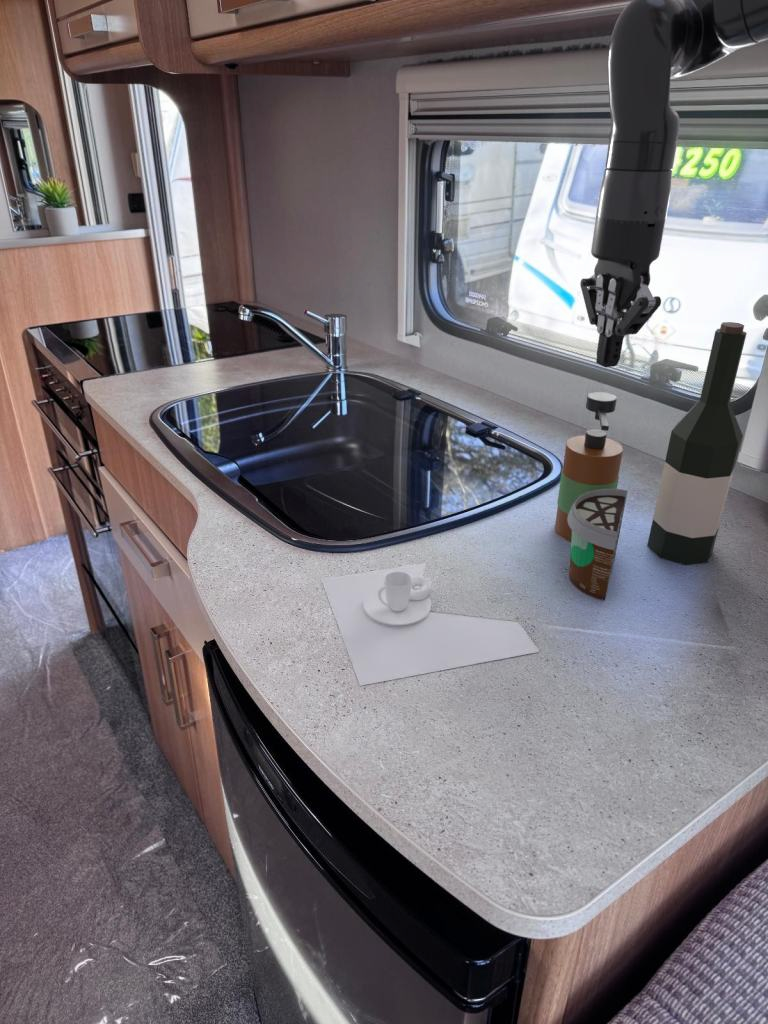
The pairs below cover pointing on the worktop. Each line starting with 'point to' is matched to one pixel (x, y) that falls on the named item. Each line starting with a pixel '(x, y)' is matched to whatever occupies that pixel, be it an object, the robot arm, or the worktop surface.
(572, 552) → the food container
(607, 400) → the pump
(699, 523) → the wine bottle
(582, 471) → the pump bottle
